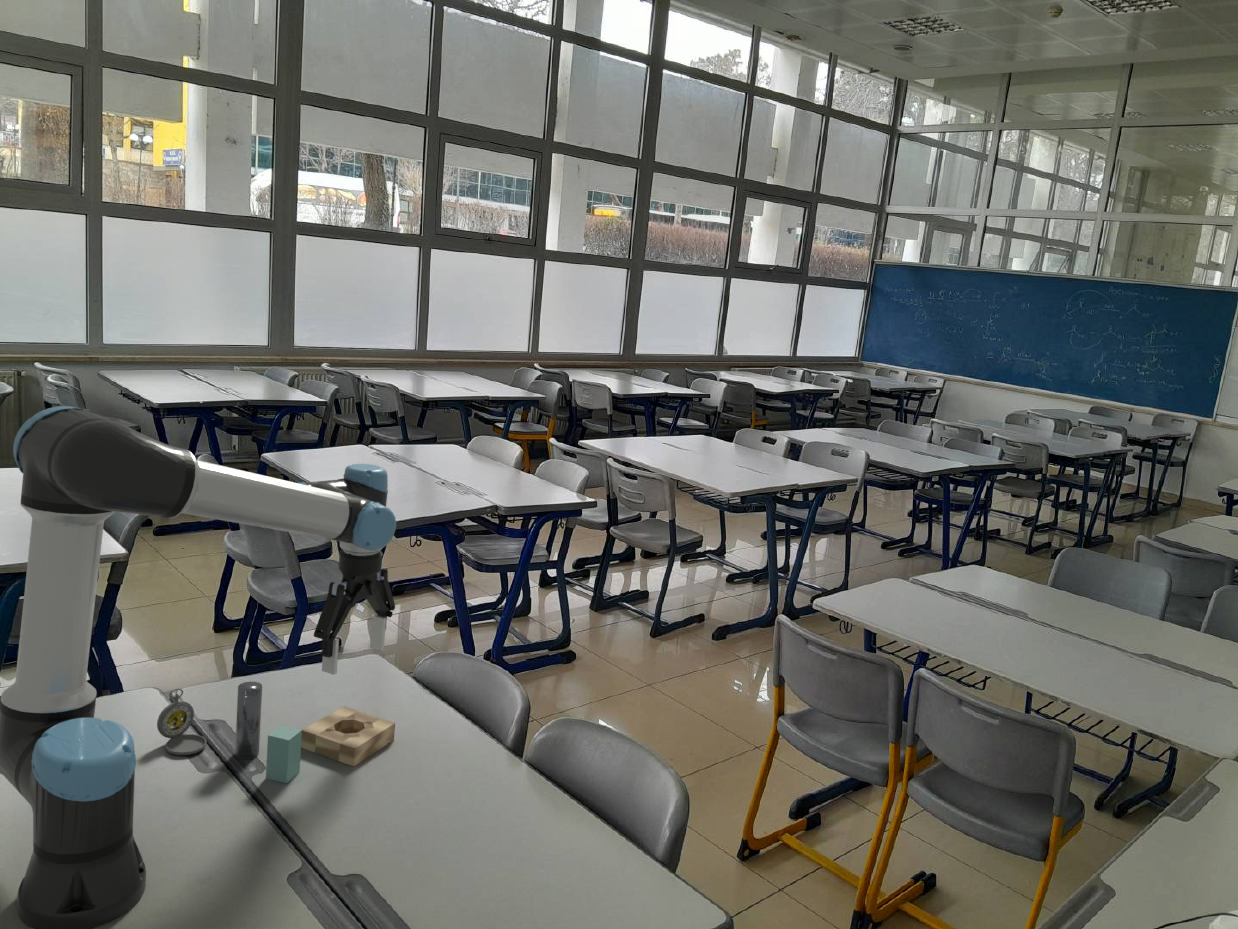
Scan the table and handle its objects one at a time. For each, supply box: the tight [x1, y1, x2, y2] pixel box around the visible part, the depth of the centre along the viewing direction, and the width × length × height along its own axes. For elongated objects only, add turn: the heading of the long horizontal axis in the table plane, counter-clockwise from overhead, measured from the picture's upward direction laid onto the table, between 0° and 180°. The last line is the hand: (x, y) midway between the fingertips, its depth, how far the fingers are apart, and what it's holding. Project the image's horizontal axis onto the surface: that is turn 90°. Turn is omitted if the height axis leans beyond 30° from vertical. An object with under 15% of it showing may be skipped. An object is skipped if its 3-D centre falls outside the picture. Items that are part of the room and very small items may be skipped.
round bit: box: [234, 681, 263, 760], centre depth 165 cm, size 4×4×13 cm
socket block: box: [301, 706, 396, 767], centre depth 173 cm, size 12×12×4 cm
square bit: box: [265, 724, 303, 784], centre depth 160 cm, size 4×4×8 cm
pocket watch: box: [156, 688, 207, 756], centre depth 165 cm, size 8×8×10 cm
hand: (353, 660), depth 171 cm, fingers open, 13 cm apart
